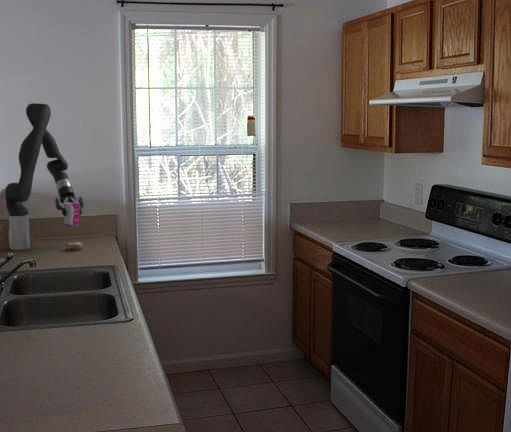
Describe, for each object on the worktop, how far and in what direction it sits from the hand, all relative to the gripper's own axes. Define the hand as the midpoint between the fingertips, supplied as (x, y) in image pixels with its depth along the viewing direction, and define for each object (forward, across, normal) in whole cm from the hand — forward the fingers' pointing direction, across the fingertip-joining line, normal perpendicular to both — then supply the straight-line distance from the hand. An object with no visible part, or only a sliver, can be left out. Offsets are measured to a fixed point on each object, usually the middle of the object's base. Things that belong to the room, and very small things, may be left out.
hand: (73, 214), depth 345 cm
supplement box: (+3, 0, +5) cm, 6 cm away
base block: (+18, -3, +6) cm, 19 cm away
